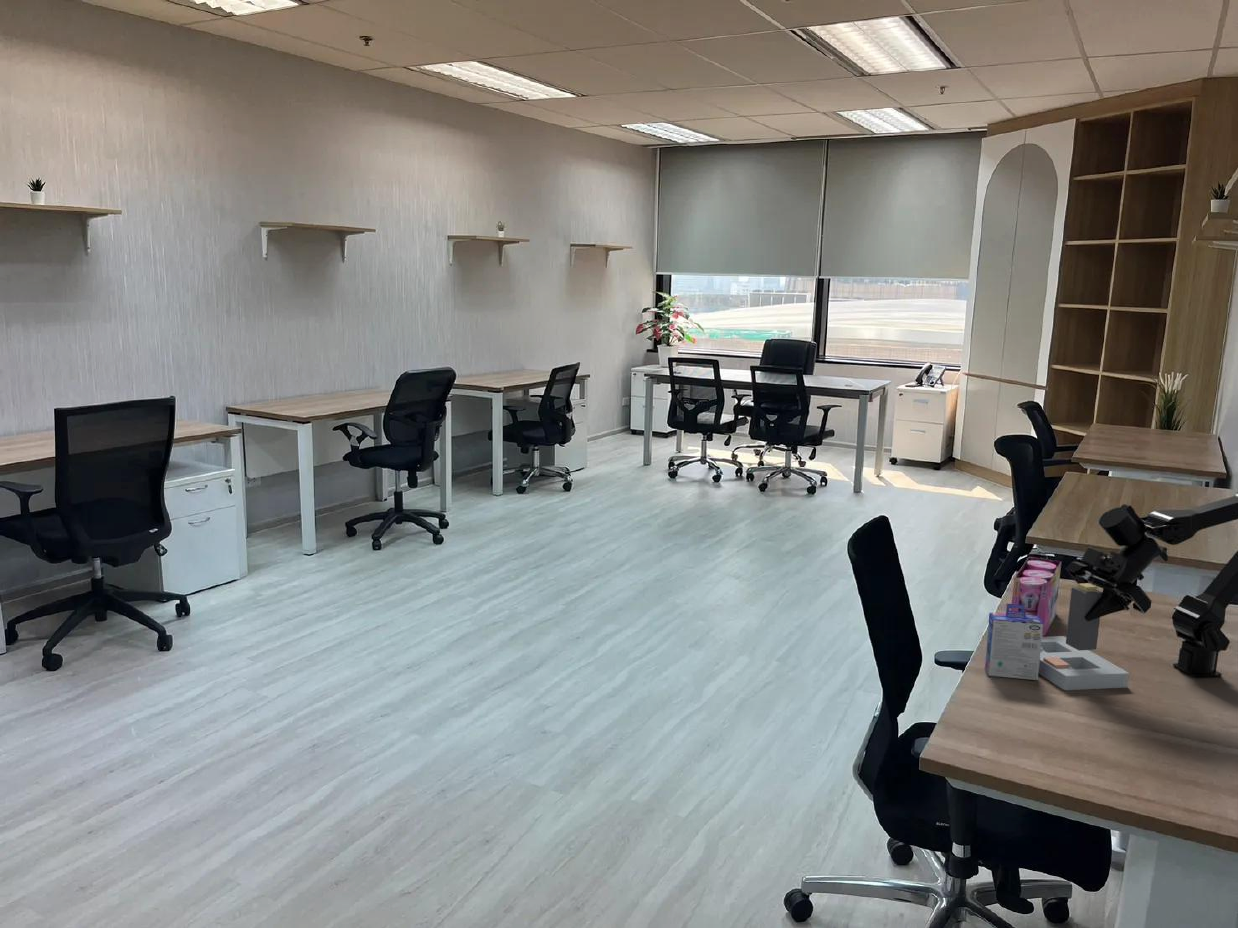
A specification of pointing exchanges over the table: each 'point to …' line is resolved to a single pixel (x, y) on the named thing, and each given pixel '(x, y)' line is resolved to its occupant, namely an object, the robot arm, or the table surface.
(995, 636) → the ink cartridge box
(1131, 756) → the table surface
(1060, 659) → the socket panel
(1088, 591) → the plug
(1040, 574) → the gum box
